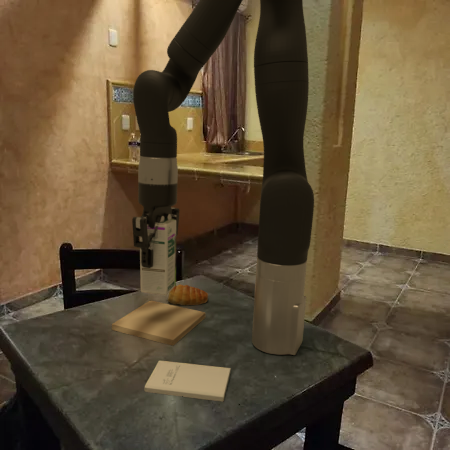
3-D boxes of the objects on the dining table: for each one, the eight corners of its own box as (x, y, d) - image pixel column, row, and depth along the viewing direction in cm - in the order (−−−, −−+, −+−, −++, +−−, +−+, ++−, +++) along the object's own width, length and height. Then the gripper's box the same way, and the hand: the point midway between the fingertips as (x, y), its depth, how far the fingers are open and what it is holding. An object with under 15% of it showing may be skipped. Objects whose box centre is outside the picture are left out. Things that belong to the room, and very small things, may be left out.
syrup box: (167, 296, 86) (168, 224, 83) (139, 292, 87) (139, 221, 84) (176, 286, 92) (177, 218, 89) (149, 283, 93) (150, 216, 90)
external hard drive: (223, 405, 66) (144, 395, 68) (230, 375, 74) (159, 367, 76) (223, 395, 66) (144, 385, 67) (230, 367, 74) (159, 358, 75)
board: (205, 317, 95) (205, 312, 94) (173, 345, 82) (173, 339, 82) (150, 305, 100) (150, 300, 100) (111, 329, 87) (111, 324, 87)
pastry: (208, 296, 107) (208, 282, 106) (207, 308, 100) (207, 292, 99) (169, 295, 107) (170, 280, 106) (166, 306, 100) (166, 290, 99)
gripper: (154, 185, 77) (153, 276, 80) (192, 178, 90) (189, 256, 93) (119, 181, 80) (119, 269, 83) (160, 175, 93) (159, 251, 96)
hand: (156, 262), depth 88 cm, fingers closed on syrup box, 6 cm apart
